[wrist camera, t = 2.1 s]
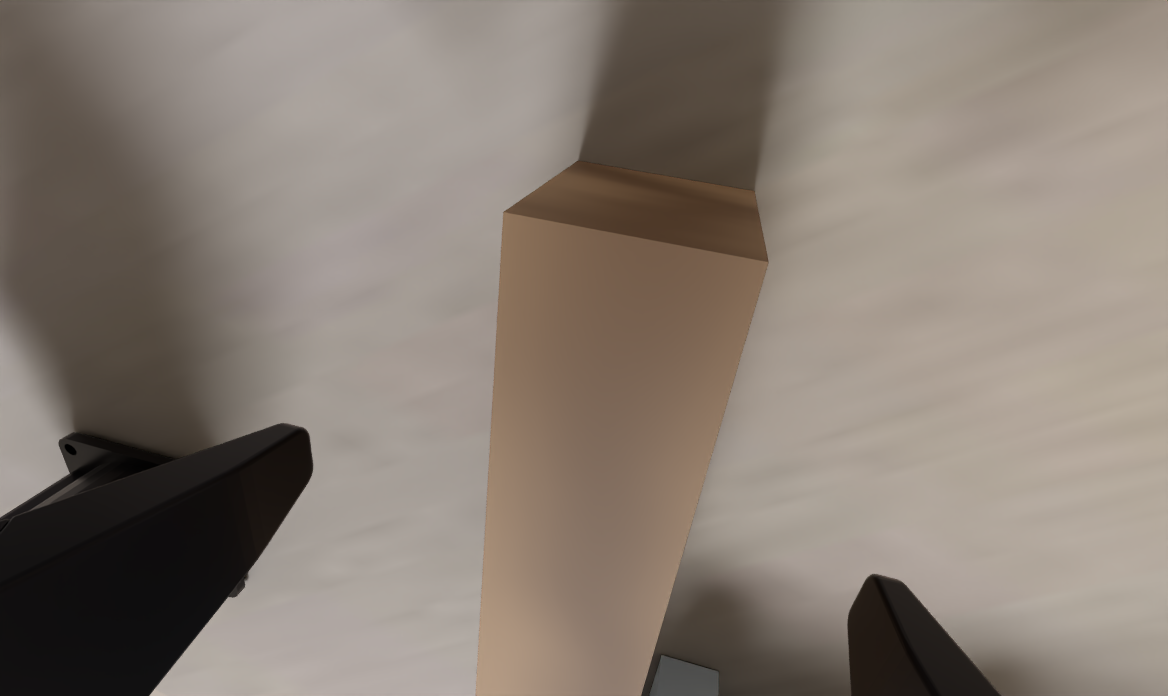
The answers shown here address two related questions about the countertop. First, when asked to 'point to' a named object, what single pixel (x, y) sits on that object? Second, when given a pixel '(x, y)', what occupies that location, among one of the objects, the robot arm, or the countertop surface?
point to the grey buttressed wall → (684, 679)
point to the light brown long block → (605, 417)
